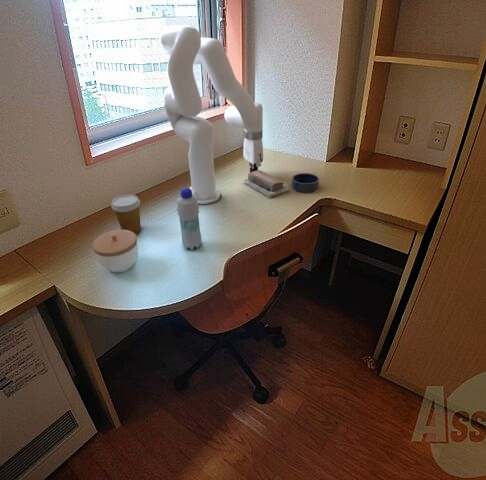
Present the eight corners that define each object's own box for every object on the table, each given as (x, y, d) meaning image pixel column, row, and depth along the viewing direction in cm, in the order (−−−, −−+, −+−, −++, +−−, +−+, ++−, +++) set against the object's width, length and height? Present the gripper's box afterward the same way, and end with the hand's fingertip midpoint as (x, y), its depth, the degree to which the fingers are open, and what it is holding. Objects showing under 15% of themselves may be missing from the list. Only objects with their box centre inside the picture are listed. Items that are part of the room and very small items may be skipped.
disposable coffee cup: (133, 221, 131) (127, 191, 125) (151, 228, 126) (145, 198, 120) (112, 232, 125) (104, 202, 119) (129, 241, 120) (122, 209, 114)
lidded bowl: (141, 250, 115) (134, 220, 109) (143, 273, 105) (136, 242, 99) (100, 257, 113) (91, 227, 107) (99, 282, 103) (89, 250, 96)
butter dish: (243, 172, 152) (262, 167, 156) (243, 183, 154) (262, 177, 158) (270, 187, 139) (289, 180, 143) (269, 198, 141) (289, 191, 145)
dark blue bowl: (301, 195, 142) (301, 186, 140) (286, 185, 150) (287, 176, 148) (323, 189, 145) (324, 180, 143) (308, 180, 154) (309, 171, 152)
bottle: (202, 239, 119) (197, 184, 108) (202, 250, 113) (196, 193, 102) (182, 240, 119) (175, 185, 108) (181, 252, 113) (173, 195, 102)
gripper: (237, 131, 153) (238, 171, 163) (253, 141, 141) (254, 183, 151) (252, 128, 155) (253, 168, 165) (270, 137, 143) (269, 179, 153)
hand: (253, 175), depth 158 cm, fingers closed
